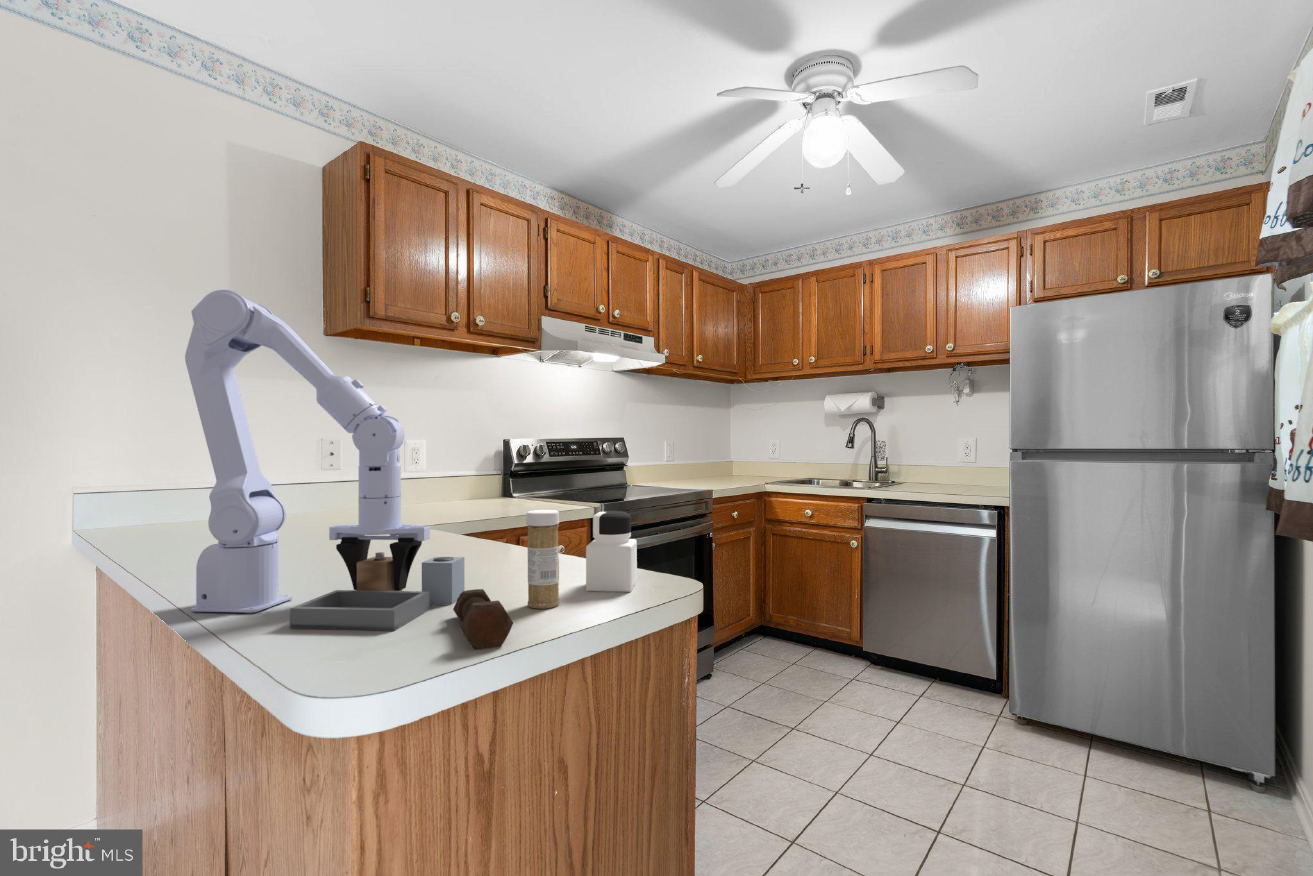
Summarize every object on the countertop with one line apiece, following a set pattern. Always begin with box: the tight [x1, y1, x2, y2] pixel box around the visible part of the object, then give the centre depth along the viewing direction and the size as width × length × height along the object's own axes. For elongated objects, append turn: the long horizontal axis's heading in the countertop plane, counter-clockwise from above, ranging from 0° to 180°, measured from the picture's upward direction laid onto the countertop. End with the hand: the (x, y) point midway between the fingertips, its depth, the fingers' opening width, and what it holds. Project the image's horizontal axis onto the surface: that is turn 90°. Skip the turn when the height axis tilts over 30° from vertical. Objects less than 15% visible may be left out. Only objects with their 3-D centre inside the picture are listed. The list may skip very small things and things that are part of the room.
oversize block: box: [421, 556, 466, 606], centre depth 90 cm, size 4×4×6 cm
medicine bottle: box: [585, 510, 638, 593], centre depth 98 cm, size 7×7×12 cm
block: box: [357, 551, 403, 591], centre depth 91 cm, size 4×4×7 cm
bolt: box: [452, 588, 514, 651], centre depth 76 cm, size 6×5×15 cm
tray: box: [289, 589, 431, 632], centre depth 81 cm, size 14×10×2 cm
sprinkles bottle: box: [525, 509, 560, 610], centre depth 87 cm, size 5×5×14 cm
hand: (379, 589), depth 91 cm, fingers open, 6 cm apart
